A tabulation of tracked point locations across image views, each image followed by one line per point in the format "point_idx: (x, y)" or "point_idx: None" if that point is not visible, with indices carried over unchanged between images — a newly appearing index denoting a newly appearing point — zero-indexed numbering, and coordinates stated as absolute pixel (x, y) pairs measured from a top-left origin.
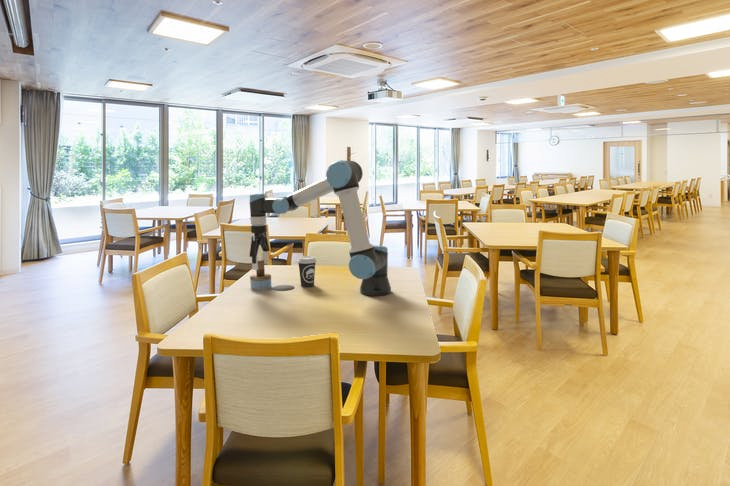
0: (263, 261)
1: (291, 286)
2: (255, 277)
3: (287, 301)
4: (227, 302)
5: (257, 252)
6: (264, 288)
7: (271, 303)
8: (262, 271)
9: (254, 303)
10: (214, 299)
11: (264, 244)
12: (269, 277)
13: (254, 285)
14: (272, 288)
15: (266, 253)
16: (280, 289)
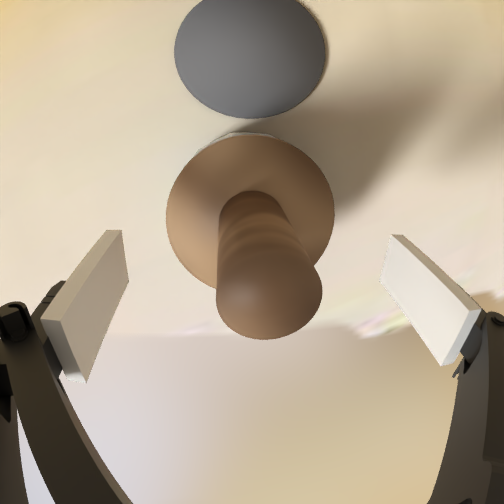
0: (285, 247)
1: (207, 10)
2: (302, 244)
3: (463, 21)
4: (465, 260)
5: (490, 352)
6: None
7: (489, 85)
8: (282, 213)
9: (489, 154)
10: None
11: (105, 480)
12: (275, 139)
13: None
14: (272, 112)
15: (74, 310)
16: (290, 57)
